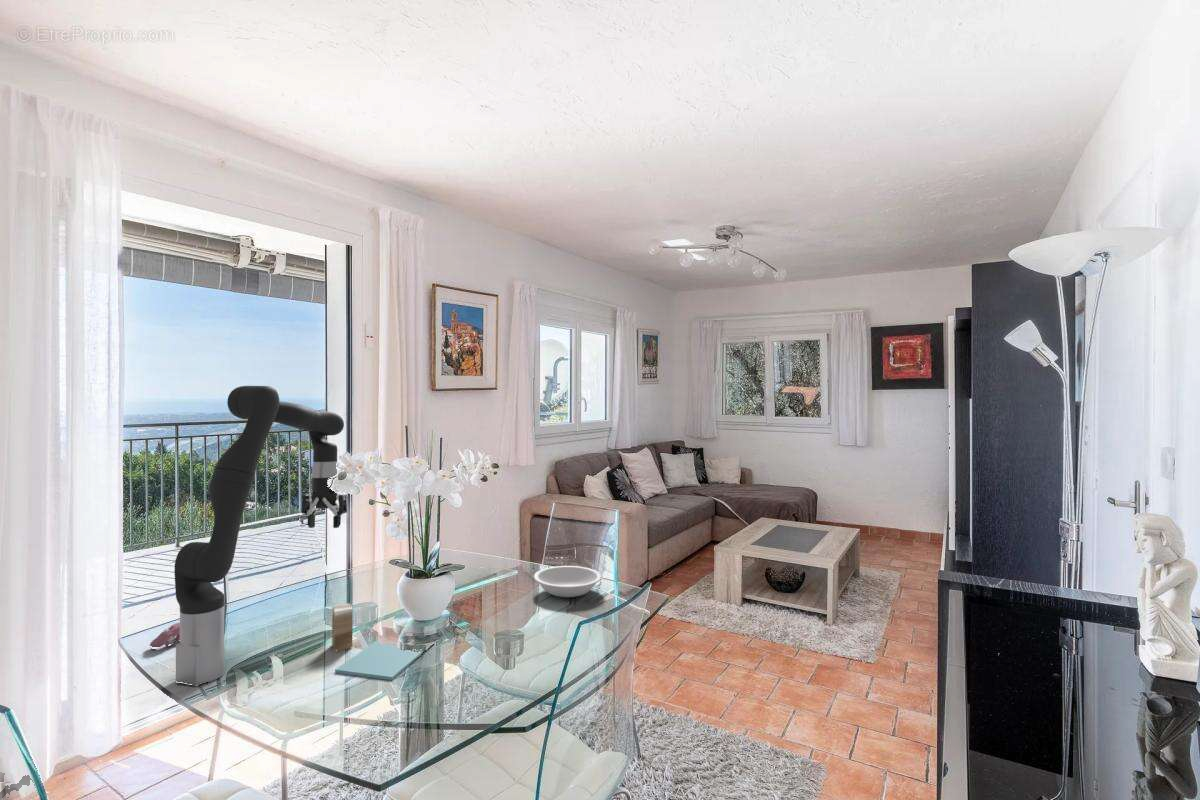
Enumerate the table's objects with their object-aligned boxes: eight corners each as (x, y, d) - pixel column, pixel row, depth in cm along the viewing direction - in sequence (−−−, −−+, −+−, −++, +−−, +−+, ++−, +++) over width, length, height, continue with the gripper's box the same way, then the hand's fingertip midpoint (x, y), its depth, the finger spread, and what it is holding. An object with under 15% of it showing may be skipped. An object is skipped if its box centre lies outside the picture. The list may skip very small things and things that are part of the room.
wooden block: (352, 647, 167) (352, 608, 167) (334, 651, 165) (335, 611, 165) (349, 641, 171) (349, 603, 171) (332, 645, 169) (332, 606, 168)
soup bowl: (578, 611, 198) (578, 591, 198) (519, 597, 210) (519, 578, 209) (613, 590, 218) (613, 572, 218) (558, 579, 230) (558, 562, 230)
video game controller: (159, 657, 163) (168, 635, 162) (146, 648, 164) (156, 626, 163) (190, 642, 173) (200, 621, 172) (178, 633, 173) (188, 613, 173)
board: (392, 680, 149) (392, 677, 149) (335, 672, 152) (335, 669, 152) (435, 643, 171) (435, 641, 171) (384, 637, 174) (384, 635, 174)
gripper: (297, 476, 190) (295, 529, 188) (338, 476, 187) (337, 529, 186) (312, 475, 197) (311, 526, 196) (352, 475, 195) (351, 526, 193)
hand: (324, 527), depth 191 cm, fingers open, 8 cm apart
